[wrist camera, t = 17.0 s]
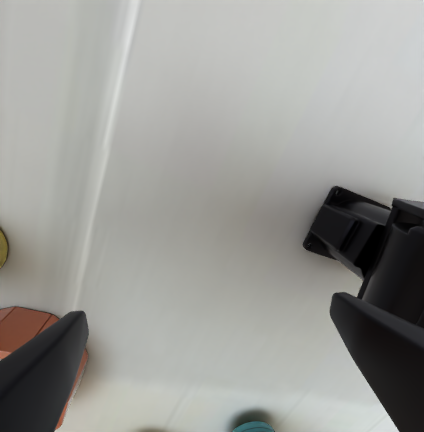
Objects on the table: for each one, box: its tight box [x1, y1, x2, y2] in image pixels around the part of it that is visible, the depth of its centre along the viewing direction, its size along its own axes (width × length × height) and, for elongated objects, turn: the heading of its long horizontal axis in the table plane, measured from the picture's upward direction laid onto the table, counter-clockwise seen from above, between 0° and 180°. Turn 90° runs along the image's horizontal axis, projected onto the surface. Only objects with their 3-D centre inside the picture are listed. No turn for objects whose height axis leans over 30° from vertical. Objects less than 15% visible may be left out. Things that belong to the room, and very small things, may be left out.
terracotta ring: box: [0, 307, 88, 430], centre depth 21 cm, size 12×12×4 cm
